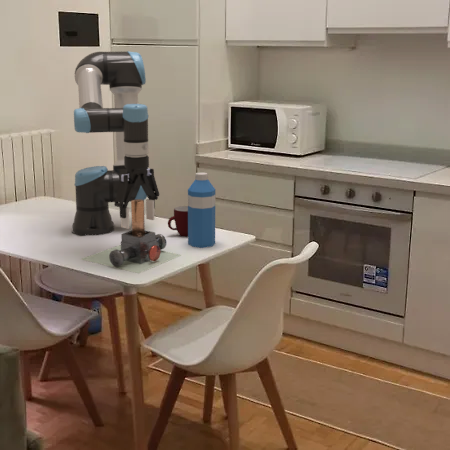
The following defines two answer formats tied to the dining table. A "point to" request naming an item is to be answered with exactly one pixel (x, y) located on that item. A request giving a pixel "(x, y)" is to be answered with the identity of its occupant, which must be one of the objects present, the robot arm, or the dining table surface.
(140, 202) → the brown mallet handle
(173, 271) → the dining table surface
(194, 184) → the water bottle
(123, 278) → the dining table surface
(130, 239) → the metal mallet head
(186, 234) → the mug
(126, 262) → the mat
